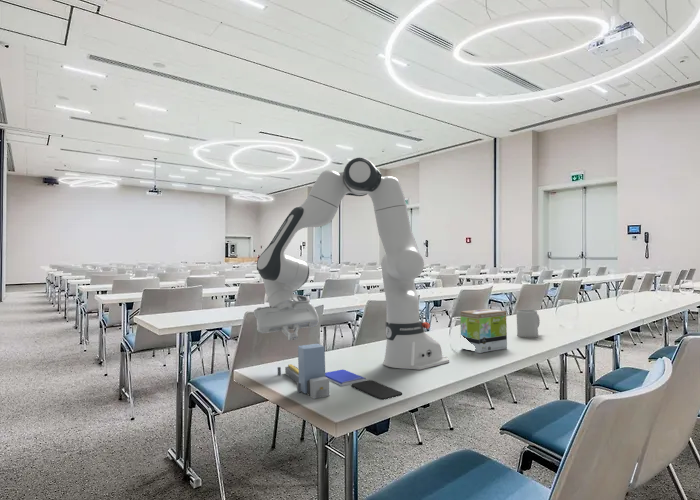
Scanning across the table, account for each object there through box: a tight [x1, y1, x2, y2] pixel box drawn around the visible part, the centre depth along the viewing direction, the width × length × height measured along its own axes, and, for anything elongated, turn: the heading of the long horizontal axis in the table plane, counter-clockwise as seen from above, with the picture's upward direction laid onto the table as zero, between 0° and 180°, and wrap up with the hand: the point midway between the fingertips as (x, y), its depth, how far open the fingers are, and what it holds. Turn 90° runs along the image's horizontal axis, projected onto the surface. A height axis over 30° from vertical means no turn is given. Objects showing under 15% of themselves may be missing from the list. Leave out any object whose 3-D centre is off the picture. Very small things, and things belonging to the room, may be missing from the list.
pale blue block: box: [297, 343, 326, 394], centre depth 114 cm, size 6×5×12 cm
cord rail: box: [277, 364, 330, 399], centre depth 120 cm, size 8×28×4 cm, turn 25°
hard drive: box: [325, 369, 367, 387], centre depth 124 cm, size 2×8×12 cm
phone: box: [350, 379, 403, 401], centre depth 112 cm, size 7×1×15 cm
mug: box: [515, 309, 541, 339], centre depth 183 cm, size 12×8×11 cm
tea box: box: [459, 308, 508, 354], centre depth 159 cm, size 15×10×15 cm
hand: (293, 338), depth 130 cm, fingers closed
